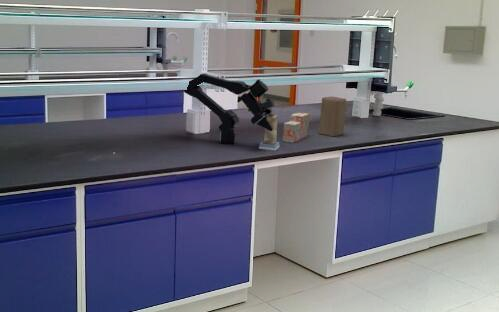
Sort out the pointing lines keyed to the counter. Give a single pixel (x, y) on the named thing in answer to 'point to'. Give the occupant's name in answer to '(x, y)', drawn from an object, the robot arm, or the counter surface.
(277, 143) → the blue square tray
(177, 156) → the counter surface
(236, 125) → the robot arm
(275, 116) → the maple pillar block
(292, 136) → the stack of blocks
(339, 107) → the block
